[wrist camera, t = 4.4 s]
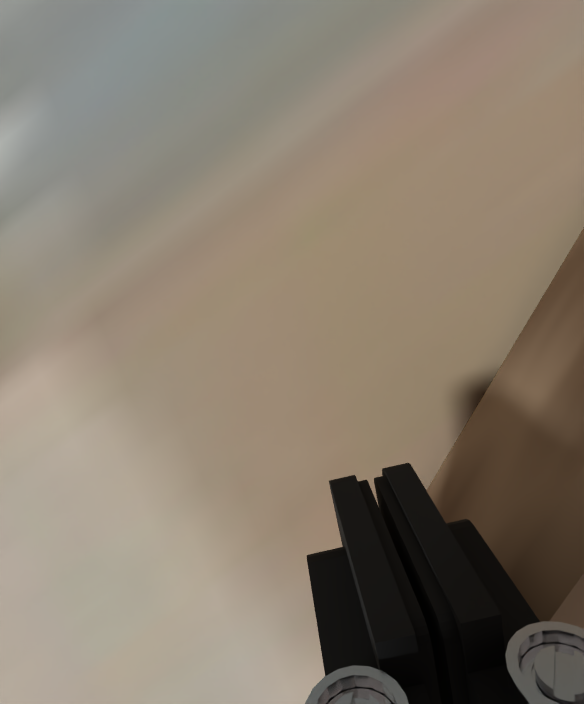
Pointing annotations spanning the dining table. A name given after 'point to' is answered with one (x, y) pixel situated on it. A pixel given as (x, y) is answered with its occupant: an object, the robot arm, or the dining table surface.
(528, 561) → the brown wooden plank
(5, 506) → the dining table surface
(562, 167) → the dining table surface
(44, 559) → the dining table surface
